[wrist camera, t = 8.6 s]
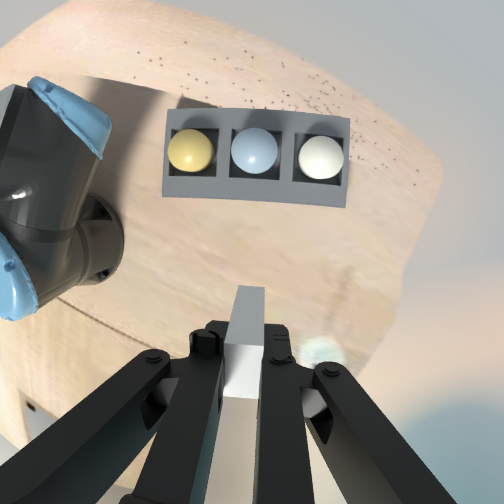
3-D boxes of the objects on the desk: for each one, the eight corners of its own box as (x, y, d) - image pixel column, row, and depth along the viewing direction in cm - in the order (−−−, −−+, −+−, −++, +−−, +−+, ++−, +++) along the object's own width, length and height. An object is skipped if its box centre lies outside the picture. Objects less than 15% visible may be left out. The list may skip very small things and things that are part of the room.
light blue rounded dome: (233, 173, 36) (229, 171, 32) (236, 133, 35) (232, 126, 31) (274, 175, 36) (276, 174, 32) (277, 135, 35) (278, 129, 31)
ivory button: (295, 177, 38) (299, 176, 33) (297, 139, 37) (302, 133, 32) (333, 181, 38) (342, 180, 33) (336, 143, 36) (344, 138, 32)
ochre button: (176, 172, 38) (166, 170, 34) (179, 135, 37) (169, 129, 33) (214, 172, 38) (207, 171, 34) (216, 134, 37) (210, 128, 33)
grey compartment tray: (169, 196, 40) (162, 197, 37) (174, 114, 37) (167, 109, 35) (339, 206, 40) (345, 208, 37) (344, 122, 37) (350, 118, 34)
